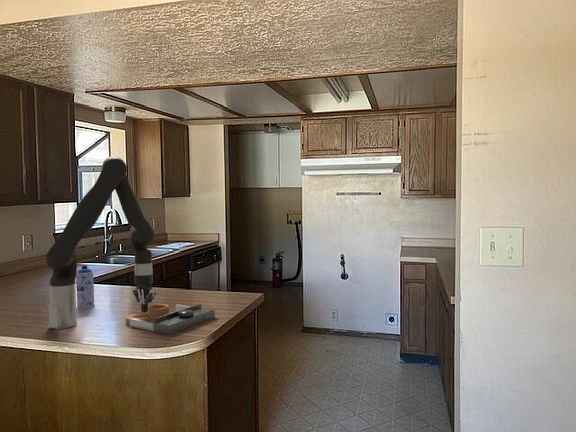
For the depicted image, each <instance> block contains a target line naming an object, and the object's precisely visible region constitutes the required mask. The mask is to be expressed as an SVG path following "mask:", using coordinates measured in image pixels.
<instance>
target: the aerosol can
mask: <svg viewBox="0 0 576 432" xmlns="http://www.w3.org/2000/svg"><path fill="white" fill-rule="evenodd" d="M75 285H76V309H78V310H85V309H86V310H87V309H92V308H94V307H95V306H96V305H95V289H94V287H95V286H94V285H95V284H94V271H93V270H92V269H91V268H89V267H88V265H81V268H80V269H79V270H78V271H77V274H76V278H75Z"/></svg>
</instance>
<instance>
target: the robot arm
mask: <svg viewBox="0 0 576 432" xmlns="http://www.w3.org/2000/svg"><path fill="white" fill-rule="evenodd" d="M101 167H102V168H101V171H100V173H99V175H98V178H97V179H96V181H95V183H94V184H93V186H92V187H91V188H90V189H89V190H88V192H86V194H85V195H84V196H83V197H82V199H81V200H80V202H78V205H77V206H76V208H75V210H74V211H73V213H72V215H71V216H70V218H69V219H68V221H67V223H66V225H65V227H64V229H63V231H62V232H61V234H60V235H59V236H58V238H57V239H56V241H55V242H54V243H53V244H52V246H51V247H50V249H48V251H47V253H46V255H45V261H46V262H45V263H46V265H47V266H48V267H49V268H50V269H52V275H51V276H50V279H49V293H50V303H49V304H48V320H49V321H48V323H49V325H48V326H49V328H51V329H54V330H55V329H56V330H61V329H69V328H72V327H75V326H76V325H78V321H77V320H78V318H77V287H76V274H77V272H78V271H77V269H78V268H77V267H78V266H77V265H78V264H77V261H78V260H77V253H76V250H75V249H76V248H77V246H78V244H79V243H80V241H81V240H82V239H83V238H84V237H85V236H86V235H87V234H88V233H89V232H90V230H91V229H93V227H94V226H95V224H96V223H97V221H98V220H99V218H100V217H101V215H102V213H103V211H104V210H105V208H106V206H107V203H108V201H109V200H110V198H111V195H112V194H113V192H114V191H115V192H116V195H117V197H118V200H119V203H120V206H121V209H122V211H123V214H124V217H125V220H126V221H127V223H128V225H130V226H131V227H133V228H134V229H133V230H132V232H131V235H130V241H131V242H130V243H131V245H132V249H133V253H134V284H135V285H136V287H135V289H133V290H132V293H133V295H134V297H135V300H136V301H137V303H140V312H141V313H142V314H146V313H147V312H148V308H149V303H152V302H153V300H154V298H155V296H156V295H157V293H156V291H153V287H152V284H153V283H154V279H153V278H154V276H153V275H154V274H153V273H154V272H153V262H152V261H153V256H152V251H151V249H149V248H148V247H147V245H149V244H152V243H153V242H154V239H155V232H154V229H153V228H152V226H151V225H150V223H149V221H148V220H147V219H146V218H145V216H144V214H143V213H144V212H143V211H142V208H141V206H140V204H139V202H138V200H137V198H136V195H135V194H134V191H133V190H132V187H131V183H130V182H129V178H128V175H127V172H128V167H127V164H126V163H125V161H124V160H123V159H122V158H121V157H118V156H113V155H111V156H108V157H107V158H105V159H104V161H103V163H102V166H101Z"/></svg>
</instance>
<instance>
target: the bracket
mask: <svg viewBox="0 0 576 432" xmlns="http://www.w3.org/2000/svg"><path fill="white" fill-rule="evenodd" d="M168 313H170V305H169V304H165V303H162V304H161V303H160V304H159V303H158V304H152V305H148V313H133V314H129V315H126V316H125V325H127V326H130V319H131V318H134V319H138V320H143V321H148V322H152V319H153V318H156V317H159V316H162V315H165V314H168Z"/></svg>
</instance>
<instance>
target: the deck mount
mask: <svg viewBox="0 0 576 432" xmlns="http://www.w3.org/2000/svg"><path fill="white" fill-rule="evenodd" d="M214 318H216V309H215V308H207V307H202V303H195V304H194V305H191V306H189V305H184V304H178V303H177V304H175V311H172V312H169V313H168V314H165V315H162V316H159V317H156V318H153V319H152V322H148V321H143V320H138V319H134V318H131V319H130V325H129V327H132V328H136V329H142V330H147V331H151V332H155V333H159V334H164V335H167V336H170V335H172V334H175V333H178V332H180V331H183V330H185V329H188V328H191V327H193V326H196V325H199V324H201V323H204V322H206V321H210V320H211V319H214Z"/></svg>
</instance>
